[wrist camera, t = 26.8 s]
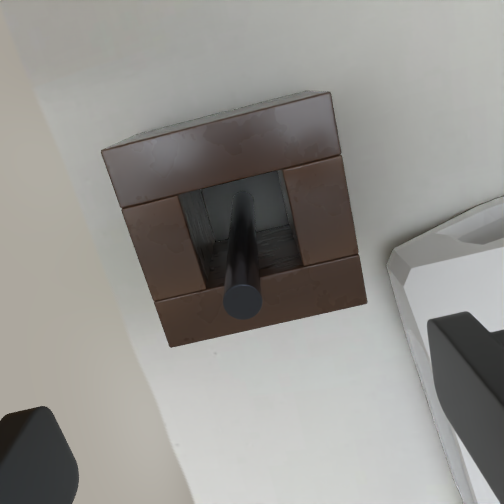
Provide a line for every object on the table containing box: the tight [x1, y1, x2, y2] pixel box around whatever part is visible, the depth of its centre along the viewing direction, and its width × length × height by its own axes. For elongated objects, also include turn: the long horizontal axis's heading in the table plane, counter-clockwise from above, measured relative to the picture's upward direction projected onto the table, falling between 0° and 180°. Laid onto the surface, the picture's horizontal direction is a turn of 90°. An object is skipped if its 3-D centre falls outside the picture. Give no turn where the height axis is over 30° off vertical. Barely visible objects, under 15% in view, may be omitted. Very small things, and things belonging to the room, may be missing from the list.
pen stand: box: [101, 91, 367, 348], centre depth 24 cm, size 10×10×7 cm
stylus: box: [223, 191, 263, 320], centre depth 20 cm, size 1×1×14 cm
